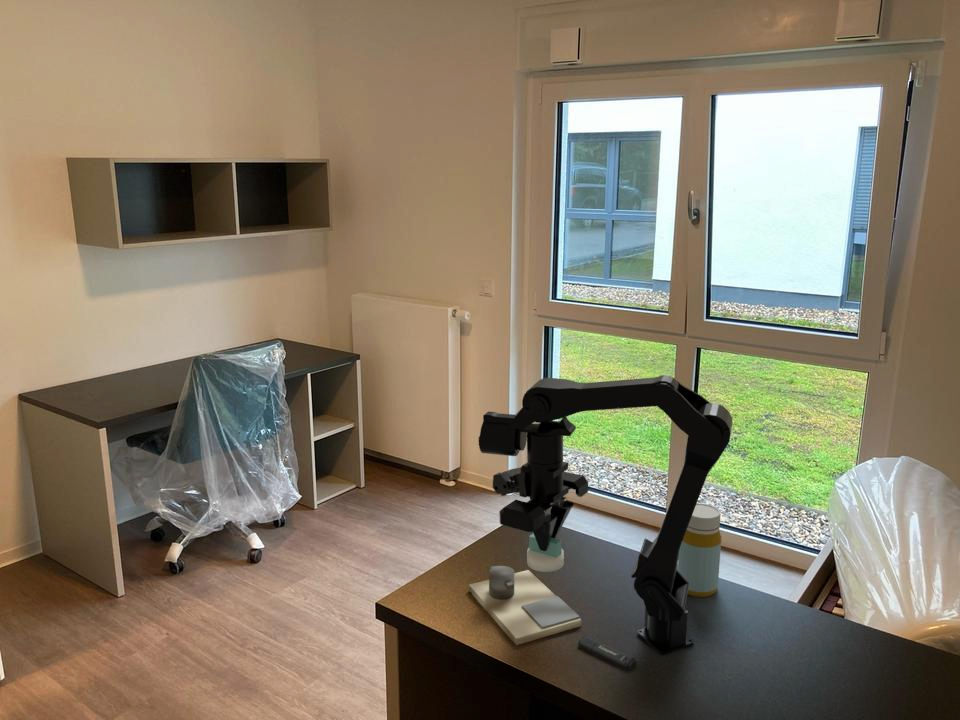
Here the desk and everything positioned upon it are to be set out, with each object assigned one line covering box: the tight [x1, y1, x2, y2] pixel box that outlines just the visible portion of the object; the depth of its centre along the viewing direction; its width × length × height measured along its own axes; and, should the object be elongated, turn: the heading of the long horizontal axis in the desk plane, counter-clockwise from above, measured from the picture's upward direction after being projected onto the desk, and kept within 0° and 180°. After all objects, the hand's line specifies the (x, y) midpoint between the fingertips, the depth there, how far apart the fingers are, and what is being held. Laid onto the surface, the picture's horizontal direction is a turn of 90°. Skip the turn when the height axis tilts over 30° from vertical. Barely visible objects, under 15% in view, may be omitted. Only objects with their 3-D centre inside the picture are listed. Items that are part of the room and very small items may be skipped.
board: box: [468, 565, 582, 646], centre depth 131 cm, size 18×12×5 cm, turn 25°
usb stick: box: [577, 635, 637, 671], centre depth 119 cm, size 10×3×2 cm, turn 48°
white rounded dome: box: [526, 532, 565, 573], centre depth 127 cm, size 6×6×4 cm
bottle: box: [677, 502, 722, 598], centre depth 136 cm, size 7×7×15 cm
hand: (546, 548), depth 126 cm, fingers closed on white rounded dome, 2 cm apart
